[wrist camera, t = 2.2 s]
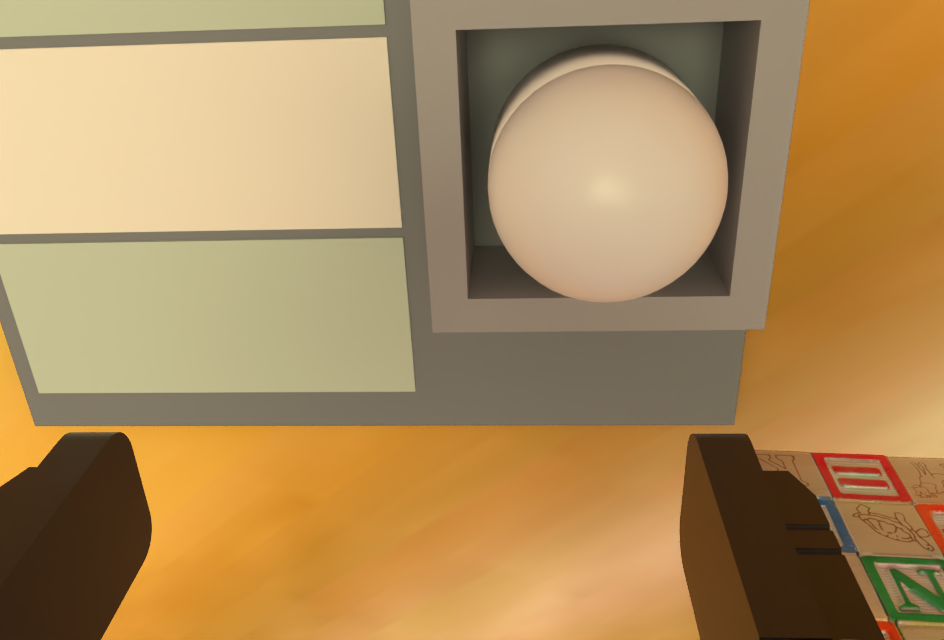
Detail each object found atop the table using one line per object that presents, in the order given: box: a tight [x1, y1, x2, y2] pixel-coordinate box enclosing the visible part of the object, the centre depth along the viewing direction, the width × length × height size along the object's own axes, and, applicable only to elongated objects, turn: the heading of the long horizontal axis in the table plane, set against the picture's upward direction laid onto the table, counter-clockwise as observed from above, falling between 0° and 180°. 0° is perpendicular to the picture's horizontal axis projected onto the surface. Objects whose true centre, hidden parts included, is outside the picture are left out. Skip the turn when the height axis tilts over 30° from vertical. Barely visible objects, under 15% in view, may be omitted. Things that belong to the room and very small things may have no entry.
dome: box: [488, 44, 728, 303], centre depth 24 cm, size 7×7×7 cm
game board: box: [0, 0, 810, 426], centre depth 25 cm, size 29×31×6 cm
